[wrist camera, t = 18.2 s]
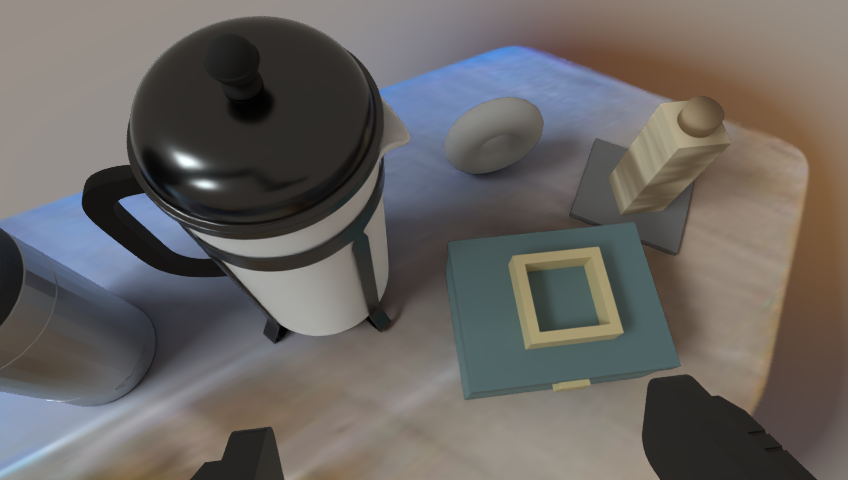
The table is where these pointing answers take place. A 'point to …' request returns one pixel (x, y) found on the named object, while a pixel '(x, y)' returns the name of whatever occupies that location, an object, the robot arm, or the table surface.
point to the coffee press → (262, 171)
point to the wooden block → (669, 154)
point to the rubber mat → (602, 209)
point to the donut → (493, 135)
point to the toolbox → (555, 311)
